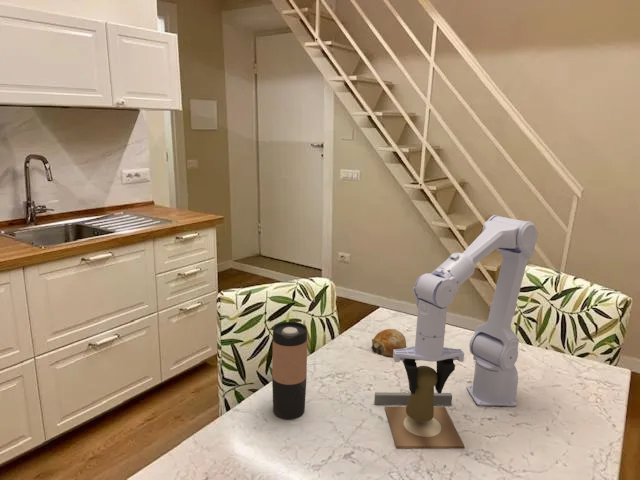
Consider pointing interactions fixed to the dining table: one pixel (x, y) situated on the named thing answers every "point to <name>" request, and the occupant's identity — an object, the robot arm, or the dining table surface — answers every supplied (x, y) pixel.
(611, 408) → the dining table surface
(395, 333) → the bread roll
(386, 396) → the low wall
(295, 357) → the travel mug
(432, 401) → the cork
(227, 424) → the dining table surface
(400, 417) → the walnut board
